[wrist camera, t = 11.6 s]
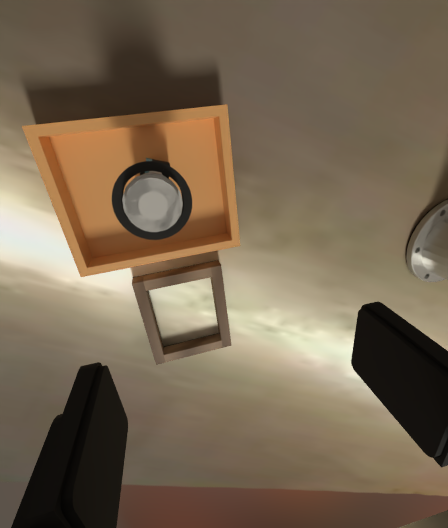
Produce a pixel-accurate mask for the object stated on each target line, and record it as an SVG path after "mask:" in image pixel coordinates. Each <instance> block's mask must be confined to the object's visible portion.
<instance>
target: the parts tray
mask: <svg viewBox="0 0 448 528" xmlns="http://www.w3.org/2000/svg"><path fill="white" fill-rule="evenodd" d="M22 128H23V130H24V133H25V135H26V138H27V140H28V143H29V145H30V148H31V151H32V153H33V156H34V158H35V161H36V163H37V166H38V169H39V171H40V174H41V176H42V179H43V181H44V184H45V186H46V189H47V192H48V194H49V197H50V199H51V202H52V204H53V207H54V209H55V212H56V215H57V217H58V220H59V222H60V225H61V227H62V230H63V232H64V235H65V238H66V240H67V243H68V245H69V248H70V250H71V253H72V255H73V258H74V261H75V263H76V266H77V268H78V271H79V273H80V276H81V277H84V276H89V275H94V274H99V273H104V272H110V271H115V270H120V269H125V268H130V267H135V266H140V265H145V264H150V263H155V262H160V261H166V260H171V259H176V258H181V257H186V256H191V255H196V254H201V253H206V252H211V251H216V250H222V249H227V248H232V247H237V246H240V238H239V227H238V216H237V205H236V195H235V184H234V173H233V162H232V151H231V140H230V129H229V118H228V107H227V104H226V105H217V106H208V107H198V108H189V109H179V110H170V111H160V112H151V113H142V114H132V115H123V116H113V117H104V118H94V119H85V120H76V121H66V122H57V123H47V124H38V125H28V126H22ZM146 158H150V159H155V160H160V161H166V162H169V163H170V167H172V168H173V169H175V170H176V171H177V172H178V173H180V175H181V176H182V177H183V178H184V179H185V181H186V182H187V184H188V186H189V188H190V191H191V195H192V211H191V215H190V217H189V219H188V221H187V223H186V224H185V226H184V227H183V228H182V229H181V230H180V231H179V232H178V233H176V234H175V235H173V236H171V237H168V238H165V239H161V240H148V239H143V238H140V237H138V236H135V235H133V234H132V233H130V232H129V231H128V230H126V229H125V228H124V227H123V226H122V225H121V223H120V222H119V221H118V219H117V217H116V215H115V213H114V210H113V206H112V190H113V187H114V184H115V182H116V180H117V178H118V177H119V176H120V174H121V173H122V172H123V171H124V170H126V169H127V168H128V167H130V166H132V165H134V164H136V163H139V162H144V161H146ZM137 176H140V173H138V174H136V175H135V176H133V177H132V178H131V179H129V181H128V182H127V183H126V185H125V188H126V186H127V185H128V184H129V183H130V182H131V181H132V180H133V179H134V178H136V177H137ZM169 179H170V180H171V181H172V182H173V183H174V184H175V185H176V187H177V188H178V189H179V191H180V193H181V190H180V188H179V186H178V184H177V183H176V182H175V181H174V180H173V179H172V178H170V177H169ZM125 188H124V191H125ZM123 194H124V193H123ZM181 197H182V194H181Z"/></svg>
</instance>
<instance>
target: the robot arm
mask: <svg viewBox="0 0 448 528" xmlns="http://www.w3.org/2000/svg"><path fill="white" fill-rule="evenodd" d="M406 259H407V265H408V268H409V270H410V272H411V273H412V274H413V275H414V276H416V277H417V278H419V279H421V280H423V281H427V282H437V281H441V280H444V279H447V280H448V200H445V201H444V202H442V203H440V204H439V205H437V206H436V207H434V208H433V209H432V210H431V211H429V212H428V213H427V214H426V216H425V217H424V218H423V219H422V220H421V221H420V223H419V224H418V225H417V227H416V229H415V230H414V232H413V234H412V236H411V238H410V241H409V244H408V248H407V256H406ZM351 363H352V366H353V369H354V370H355V372H356V373H357V374H358V375H359V376H360V377H361V379H362V380H363V381H364V382H365V383H366V385H367V386H368V387H369V388H370V389H371V390H372V392H373V393H374V394H375V395H376V396H377V397H378V399H379V400H380V401H381V402H382V403H383V405H384V406H385V407H386V408H387V409H388V410H389V412H390V413H391V414H392V415H393V416H394V417H395V419H396V420H397V421H398V422H399V423H400V425H401V426H402V427H403V428H404V429H405V430H406V432H407V433H408V434H409V435H410V436H411V438H412V439H413V440H414V441H415V442H416V443H417V445H418V446H419V447H420V448H421V449H422V450H423V452H424V453H425V454H426V455H428V456H429V457H431V458H432V457H433V458H434V459H435V461H436V462H437V463H438V464H439V465H440V466H441V467H444V466H447V465H448V351H447V350H446V349H444V348H443V347H441V346H440V345H439V344H437V343H436V342H435V341H433V340H432V339H430V338H429V337H428V336H426V335H425V334H424V333H422V332H421V331H419V330H418V329H417V328H415V327H414V326H413V325H411V324H410V323H408V322H407V321H406V320H404V319H403V318H402V317H400V316H399V315H397V314H396V313H395V312H393V311H392V310H391V309H389V308H388V307H386V306H385V305H384V304H382V303H380V302H374V303H369V304H365V305H363V306H362V307H361V309H360V310H359V312H358V317H357V324H356V332H355V339H354V346H353V353H352V360H351ZM127 432H128V420H127V416H126V414H125V411H124V408H123V406H122V403H121V400H120V398H119V395H118V392H117V390H116V387H115V384H114V382H113V379H112V377H111V374H110V371H109V369H108V366H102V364H101V363H94V364H89V365H85V366H81V367H80V369H79V371H78V373H77V376H76V379H75V382H74V384H73V387H72V390H71V393H70V395H69V398H68V401H67V404H66V406H65V409H64V412H63V414H60V415H58V416H57V417H56V418H55V419H54V420H53V422H52V424H51V427H50V430H49V432H48V435H47V437H46V440H45V442H44V445H43V447H42V450H41V453H40V455H39V458H38V460H37V463H36V465H35V468H34V470H33V473H32V476H31V478H30V481H29V483H28V486H27V489H26V491H25V494H24V496H23V499H22V501H21V504H20V506H19V509H18V511H17V514H16V517H15V519H14V522H13V525H12V527H11V528H116V526H117V517H118V509H119V501H120V492H121V484H122V475H123V466H124V458H125V449H126V441H127ZM400 528H448V510H447V511H444V512H442V513H439V514H436V515H433V516H431V517H428V518H425V519H422V520H419V521H416V522H414V523H411V524H408V525H405V526H403V527H400Z"/></svg>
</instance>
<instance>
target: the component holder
mask: <svg viewBox="0 0 448 528" xmlns="http://www.w3.org/2000/svg"><path fill="white" fill-rule="evenodd" d="M209 277H211V283H212V290H213V296H214V303H215V310H216V316H217V323H218V329H219V333H218V334H214V335H210V336H206V337H202V338H198V339H194V340H190V341H186V342H182V343H178V344H174V345H170V346H166V347H163V344H162V340H161V337H160V333H159V329H158V326H157V322H156V318H155V315H154V311H153V307H152V304H151V300H150V296H149V293H148V290H153V289H157V288H162V287H167V286H171V285H176V284H181V283H185V282H190V281H195V280H200V279H204V278H209ZM132 286H133V289H134V292H135V296H136V299H137V302H138V306H139V309H140V312H141V316H142V319H143V322H144V326H145V329H146V332H147V335H148V339H149V342H150V345H151V349H152V352H153V355H154V359H155V362H156V365H157V364H161V363H165V362H169V361H173V360H176V359H180V358H184V357H188V356H192V355H196V354H200V353H204V352H207V351H211V350H215V349H219V348H223V347H227V346H231V339H230V331H229V323H228V315H227V308H226V300H225V292H224V284H223V277H222V269H221V264H220V263H219V261H218V260H217V261H212V262H207V263H202V264H197V265H193V266H188V267H183V268H178V269H173V270H168V271H163V272H158V273H153V274H148V275H143V276H138V277H133V280H132Z"/></svg>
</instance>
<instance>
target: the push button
mask: <svg viewBox="0 0 448 528" xmlns="http://www.w3.org/2000/svg"><path fill="white" fill-rule="evenodd" d="M138 173H140V176H137V177H136V178H134V179H133V180H132V181H131V182H130V183H129V184H128V185H127V186H126V188H125V185H126V183H127V182H128V181H129V179H131V178H132V177H133V176H135V175H136V174H138ZM169 177H170V178H172V179H173V180H174V181H175V182H176V183H177V184H178V186H179V188H180V190H181V193H180V191H179V189H178V188H177V187H176V185H175V184H174V183H173V182H172V181H171V180H170V179H169ZM124 188H125V191H124ZM123 193H124V194H123ZM181 194H182V197H181ZM112 206H113V210H114V213H115V215H116V217H117V219H118V221H119V222H120V223H121V225H122V226H123V227H124V228H125V229H126V230H128V231H129V232H130V233H132V234H133V235H135V236H138V237H140V238H143V239H148V240H161V239H165V238H168V237H171V236H173V235H175V234H176V233H178V232H179V231H180V230H181V229H182V228H183V227H184V226H185V224H186V223H187V221H188V219H189V217H190V215H191V211H192V195H191V191H190V188H189V186H188V184H187V182H186V181H185V179H184V178H183V177H182V176H181V175H180V173H178V172H177V171H176V170H175V169H173V168H172V167H170V163H169V162H166V161H160V160H155V159H150V158H146V161H144V162H139V163H136V164H134V165H132V166H130V167H128V168H127V169H126V170H124V171H123V172H122V173H121V174H120V176H119V177H118V178H117V180H116V182H115V184H114V187H113V190H112Z"/></svg>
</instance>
